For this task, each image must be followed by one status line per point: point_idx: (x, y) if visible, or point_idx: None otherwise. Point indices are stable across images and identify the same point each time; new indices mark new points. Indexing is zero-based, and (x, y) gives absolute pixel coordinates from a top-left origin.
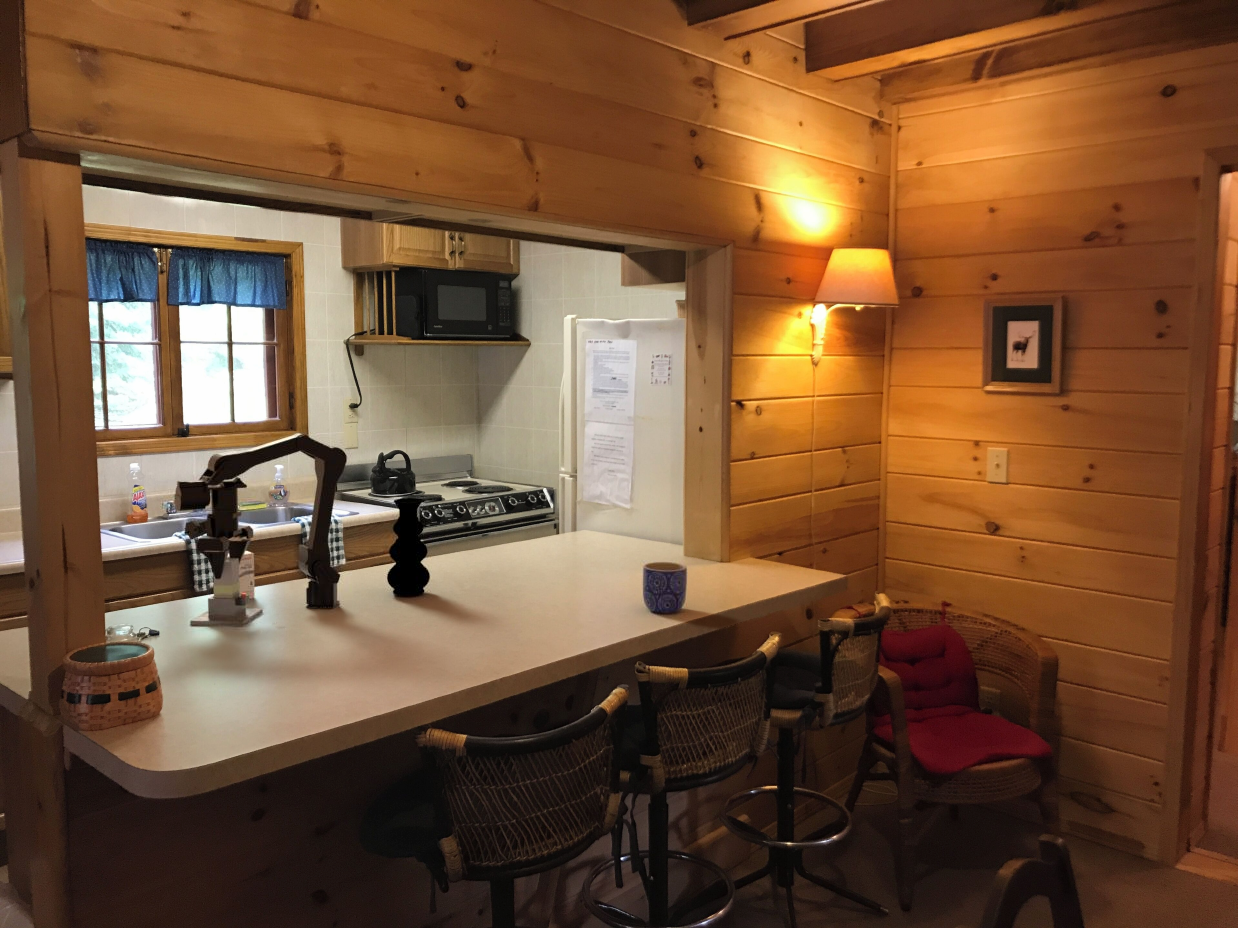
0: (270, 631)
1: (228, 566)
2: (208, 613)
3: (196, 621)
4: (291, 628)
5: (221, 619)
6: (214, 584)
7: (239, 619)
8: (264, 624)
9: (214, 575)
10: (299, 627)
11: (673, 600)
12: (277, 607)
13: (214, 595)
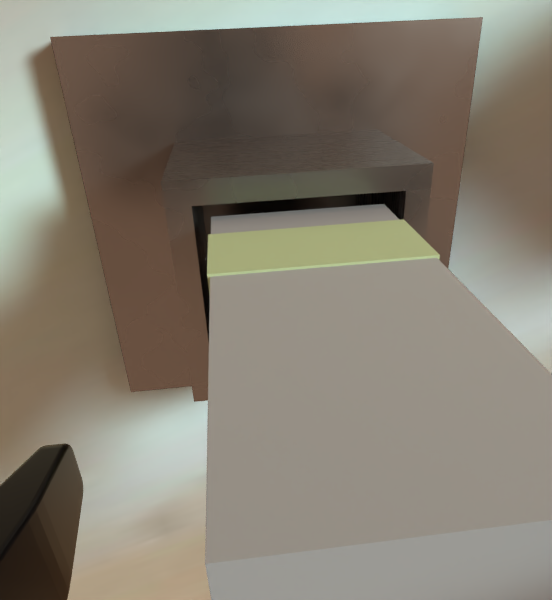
0: (81, 515)
1: None
2: (172, 150)
3: (66, 92)
4: (154, 557)
5: (151, 254)
6: (210, 288)
7: (178, 352)
8: (194, 447)
9: (7, 481)
10: (178, 573)
11: None
12: (543, 364)
13: (212, 232)
